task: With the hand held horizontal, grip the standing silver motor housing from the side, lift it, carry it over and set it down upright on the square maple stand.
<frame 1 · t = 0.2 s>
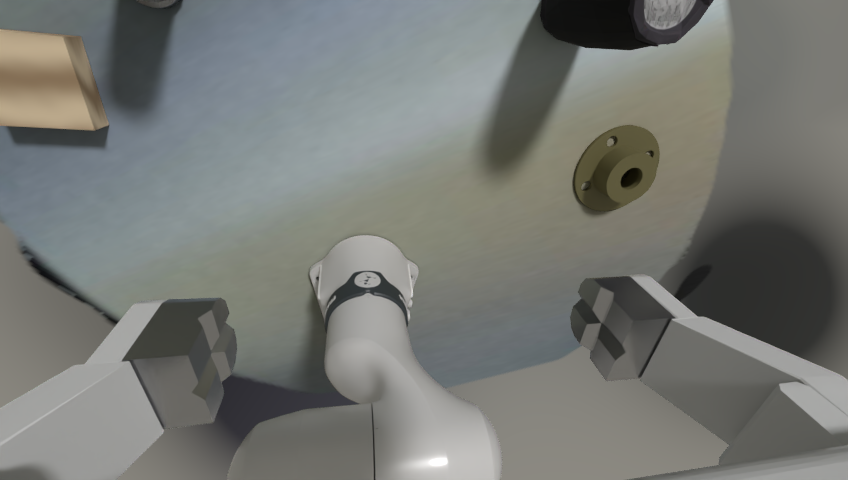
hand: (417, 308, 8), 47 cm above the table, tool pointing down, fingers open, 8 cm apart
flange: (613, 168, 63), on the table
stand: (47, 79, 43), on the table
portable speaker: (566, 7, 49), on the table
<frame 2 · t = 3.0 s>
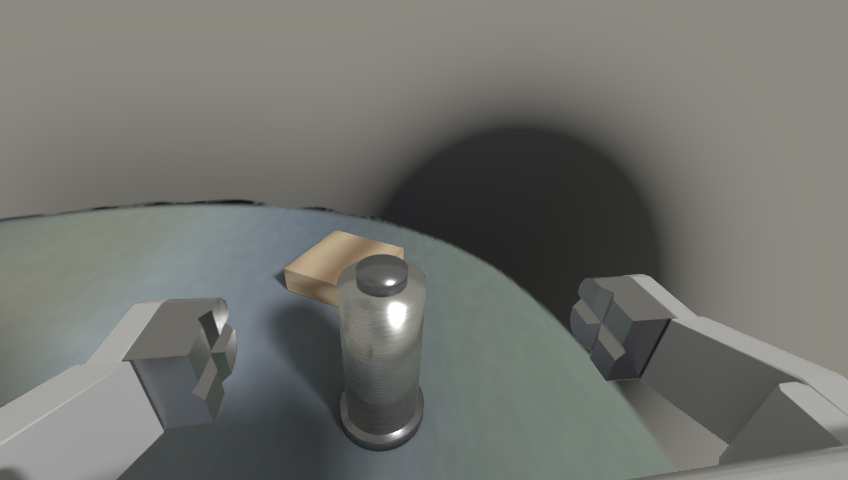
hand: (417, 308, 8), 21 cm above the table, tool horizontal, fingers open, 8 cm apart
stand: (348, 278, 44), on the table
housing: (382, 410, 29), on the table
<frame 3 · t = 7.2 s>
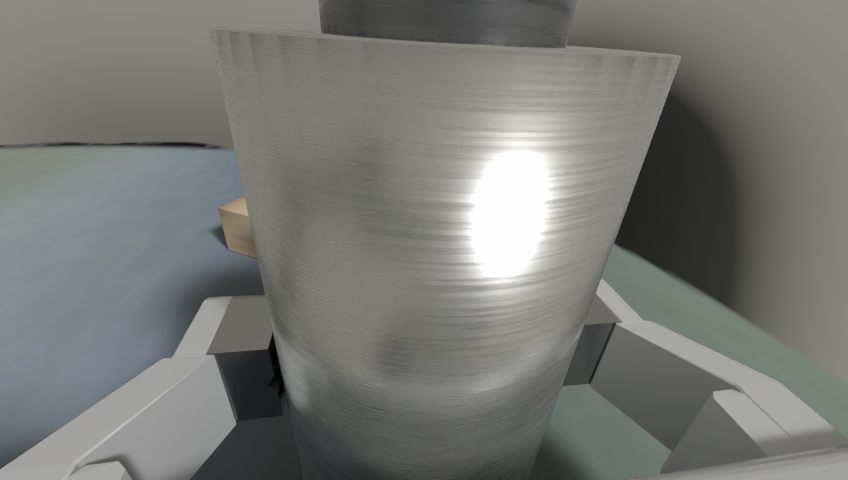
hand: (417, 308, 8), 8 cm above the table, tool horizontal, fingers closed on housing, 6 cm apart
stand: (336, 233, 26), on the table
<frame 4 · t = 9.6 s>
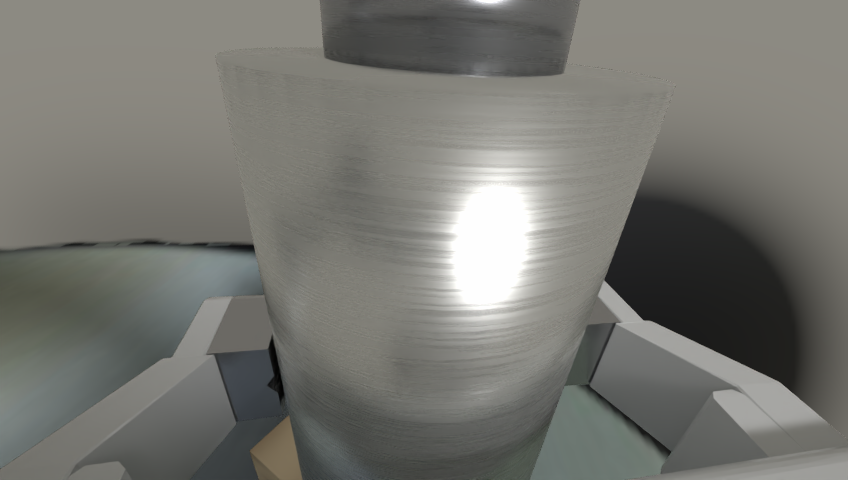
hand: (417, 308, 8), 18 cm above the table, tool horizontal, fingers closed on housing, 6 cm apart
stand: (379, 458, 23), on the table
when the fingers open (12 cm above the table, at t = 11.9 s): housing stays where it is, resting on stand.
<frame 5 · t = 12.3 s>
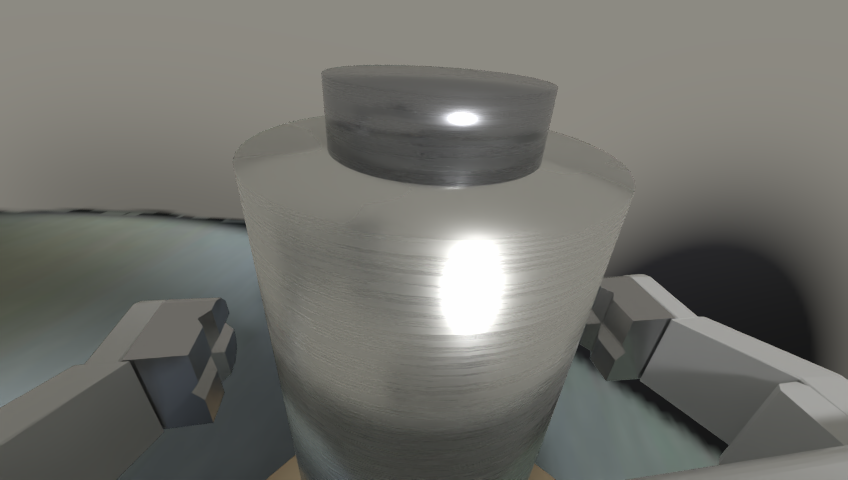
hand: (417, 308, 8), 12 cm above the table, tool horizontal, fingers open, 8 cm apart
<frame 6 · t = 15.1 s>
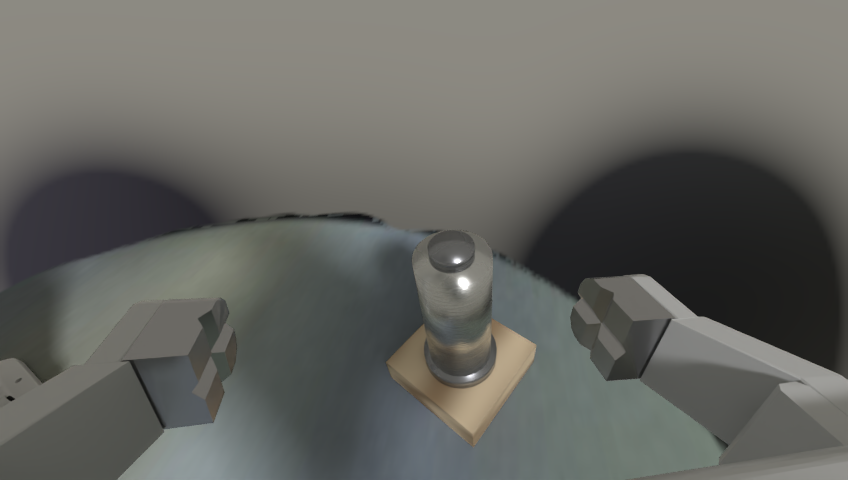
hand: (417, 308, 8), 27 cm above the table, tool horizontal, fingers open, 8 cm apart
stand: (462, 369, 36), on the table
housing: (460, 354, 34), point 3 cm above the table, touching stand
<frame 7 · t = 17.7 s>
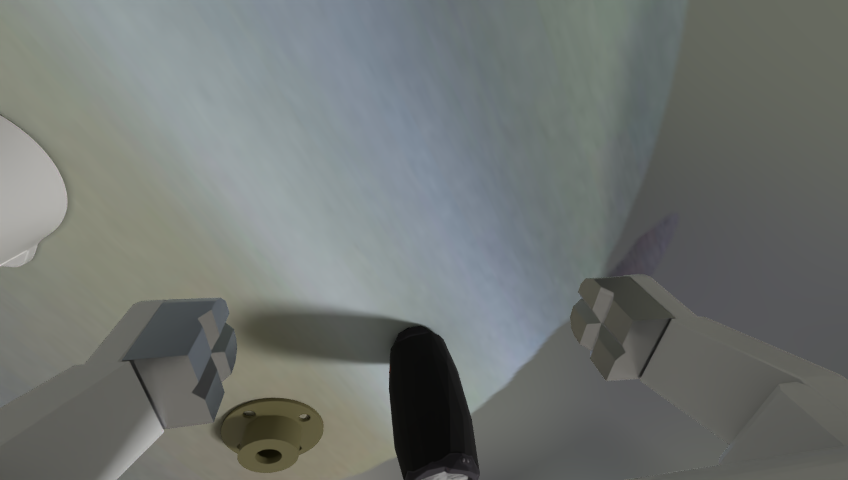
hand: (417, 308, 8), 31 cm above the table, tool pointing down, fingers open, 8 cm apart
flange: (274, 425, 58), on the table
portable speaker: (416, 344, 53), on the table
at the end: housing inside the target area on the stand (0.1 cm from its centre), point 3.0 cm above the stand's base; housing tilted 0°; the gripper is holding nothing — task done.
